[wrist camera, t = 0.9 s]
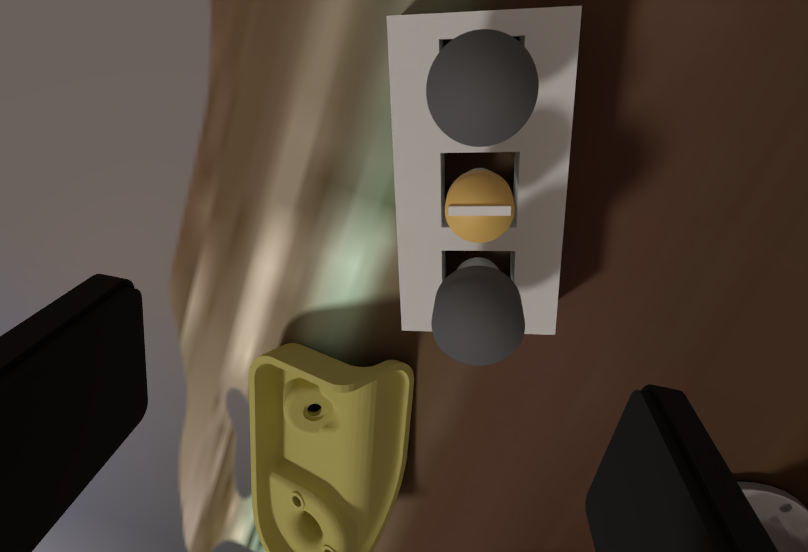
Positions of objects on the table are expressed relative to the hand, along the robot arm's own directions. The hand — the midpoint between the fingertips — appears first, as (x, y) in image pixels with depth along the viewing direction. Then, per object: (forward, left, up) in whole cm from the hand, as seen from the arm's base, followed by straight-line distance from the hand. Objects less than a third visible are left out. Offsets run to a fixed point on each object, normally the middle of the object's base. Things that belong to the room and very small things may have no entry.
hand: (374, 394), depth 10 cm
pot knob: (-2, +2, -23) cm, 24 cm away
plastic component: (+10, +24, -27) cm, 38 cm away
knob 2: (-2, +8, -23) cm, 25 cm away
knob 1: (-2, -4, -23) cm, 24 cm away
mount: (-2, +2, -27) cm, 27 cm away
